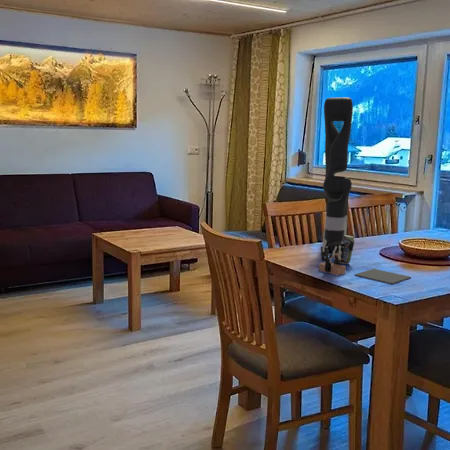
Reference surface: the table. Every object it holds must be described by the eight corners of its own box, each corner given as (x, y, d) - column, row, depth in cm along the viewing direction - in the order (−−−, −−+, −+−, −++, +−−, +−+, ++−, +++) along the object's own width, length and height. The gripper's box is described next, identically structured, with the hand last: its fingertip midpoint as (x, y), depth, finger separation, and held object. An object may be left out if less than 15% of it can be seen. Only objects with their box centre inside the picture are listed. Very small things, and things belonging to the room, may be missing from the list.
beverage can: (332, 262, 241) (334, 234, 239) (347, 261, 244) (349, 233, 242) (340, 265, 235) (342, 236, 233) (355, 264, 238) (357, 236, 236)
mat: (354, 275, 220) (354, 274, 220) (373, 269, 230) (373, 268, 230) (392, 284, 209) (392, 283, 209) (410, 278, 219) (410, 276, 219)
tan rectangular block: (319, 270, 227) (319, 263, 226) (327, 268, 230) (327, 261, 229) (337, 275, 220) (337, 268, 219) (345, 273, 223) (345, 266, 223)
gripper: (337, 224, 229) (334, 266, 232) (315, 228, 219) (313, 271, 222) (353, 227, 224) (350, 269, 227) (332, 231, 214) (329, 275, 217)
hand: (332, 270), depth 225 cm, fingers closed on tan rectangular block, 5 cm apart
